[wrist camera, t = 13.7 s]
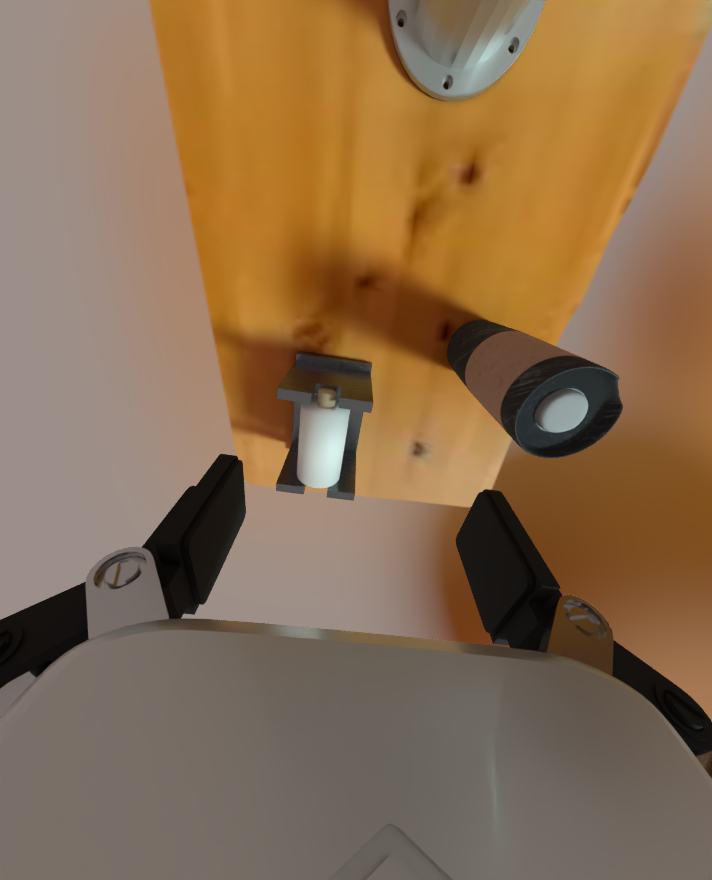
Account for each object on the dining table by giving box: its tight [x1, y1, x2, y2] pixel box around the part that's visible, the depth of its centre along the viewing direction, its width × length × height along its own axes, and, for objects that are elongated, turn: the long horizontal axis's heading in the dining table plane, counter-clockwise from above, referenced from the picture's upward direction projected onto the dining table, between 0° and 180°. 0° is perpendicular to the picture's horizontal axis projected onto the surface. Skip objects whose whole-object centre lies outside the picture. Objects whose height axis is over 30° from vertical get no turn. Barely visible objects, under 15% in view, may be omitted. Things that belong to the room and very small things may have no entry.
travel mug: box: [447, 320, 623, 458], centre depth 29 cm, size 8×8×20 cm
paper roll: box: [297, 388, 350, 488], centre depth 35 cm, size 13×6×6 cm, turn 171°
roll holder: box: [276, 351, 373, 500], centre depth 38 cm, size 16×10×11 cm, turn 171°
